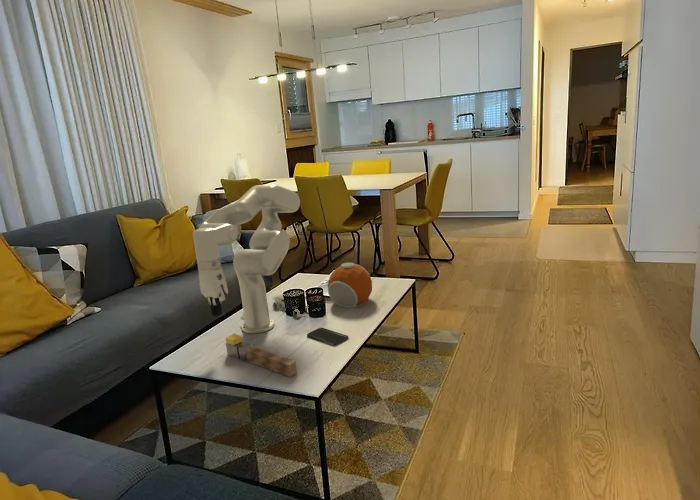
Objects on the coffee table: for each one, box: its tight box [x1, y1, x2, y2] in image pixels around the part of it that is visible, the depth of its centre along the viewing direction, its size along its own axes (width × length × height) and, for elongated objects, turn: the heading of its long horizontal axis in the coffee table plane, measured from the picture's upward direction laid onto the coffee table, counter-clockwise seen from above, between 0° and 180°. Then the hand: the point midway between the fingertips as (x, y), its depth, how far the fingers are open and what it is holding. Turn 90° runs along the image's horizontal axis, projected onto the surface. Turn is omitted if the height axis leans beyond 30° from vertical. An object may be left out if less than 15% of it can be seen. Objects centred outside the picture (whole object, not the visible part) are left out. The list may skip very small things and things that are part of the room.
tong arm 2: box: [250, 346, 298, 375], centre depth 153 cm, size 20×2×4 cm, turn 51°
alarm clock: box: [327, 262, 373, 308], centre depth 202 cm, size 19×18×17 cm
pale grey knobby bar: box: [272, 294, 309, 318], centre depth 203 cm, size 11×24×5 cm, turn 40°
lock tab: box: [225, 333, 243, 345], centre depth 163 cm, size 4×4×2 cm
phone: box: [306, 327, 350, 347], centre depth 172 cm, size 8×1×15 cm
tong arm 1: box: [246, 349, 295, 378], centre depth 152 cm, size 20×2×4 cm, turn 51°
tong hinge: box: [225, 341, 253, 362], centre depth 162 cm, size 10×4×5 cm, turn 52°
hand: (217, 314), depth 165 cm, fingers closed
